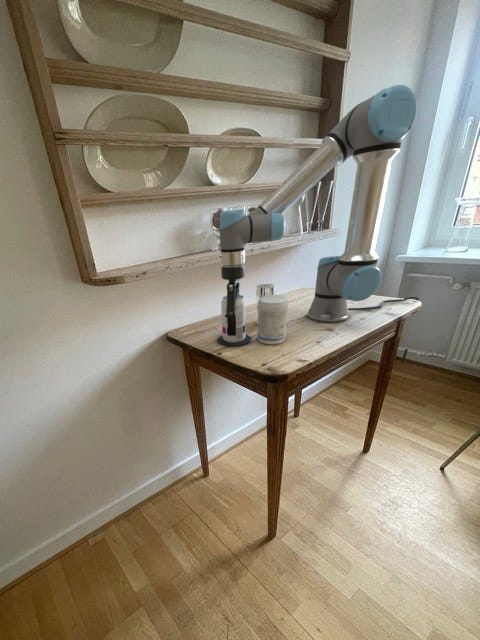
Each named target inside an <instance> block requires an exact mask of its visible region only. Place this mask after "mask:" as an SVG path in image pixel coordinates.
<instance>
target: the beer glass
mask: <svg viewBox="0 0 480 640" xmlns="http://www.w3.org/2000/svg"><path fill="white" fill-rule="evenodd" d="M255 291H256V292H255V304H256V305H255V306H256V311H257V313H258V303H259V299H260V298H261V297H263V296H268V295H275V284H273V283H260V284H257V285H256V290H255ZM256 325H257V326H258V317H257V319H256Z"/></svg>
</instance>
